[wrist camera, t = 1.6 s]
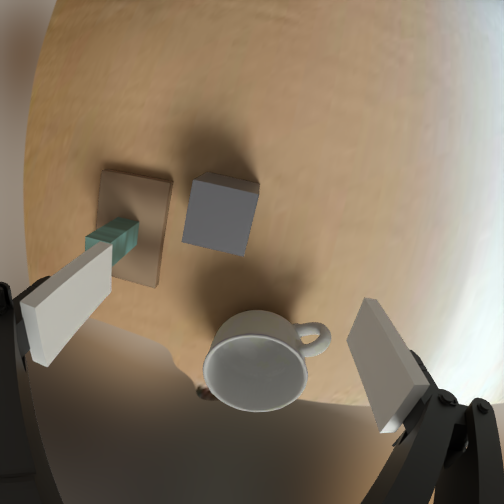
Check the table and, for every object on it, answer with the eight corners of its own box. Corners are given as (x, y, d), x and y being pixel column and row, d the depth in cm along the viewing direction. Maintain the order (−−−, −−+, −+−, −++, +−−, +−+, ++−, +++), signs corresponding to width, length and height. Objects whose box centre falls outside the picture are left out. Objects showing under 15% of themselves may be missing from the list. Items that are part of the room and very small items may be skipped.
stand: (107, 169, 30) (65, 179, 22) (173, 181, 30) (145, 195, 23) (99, 267, 34) (64, 298, 26) (158, 283, 34) (133, 321, 27)
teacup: (233, 375, 39) (228, 420, 31) (198, 312, 36) (183, 353, 28) (334, 347, 37) (347, 390, 29) (311, 275, 34) (324, 312, 26)
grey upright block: (207, 171, 30) (193, 179, 24) (259, 183, 30) (259, 194, 24) (197, 222, 32) (181, 241, 26) (247, 234, 32) (243, 256, 26)
